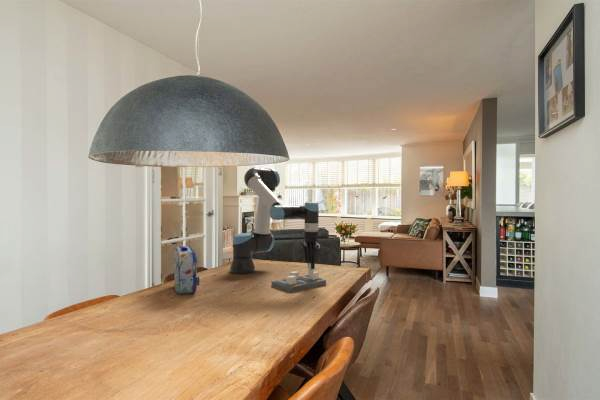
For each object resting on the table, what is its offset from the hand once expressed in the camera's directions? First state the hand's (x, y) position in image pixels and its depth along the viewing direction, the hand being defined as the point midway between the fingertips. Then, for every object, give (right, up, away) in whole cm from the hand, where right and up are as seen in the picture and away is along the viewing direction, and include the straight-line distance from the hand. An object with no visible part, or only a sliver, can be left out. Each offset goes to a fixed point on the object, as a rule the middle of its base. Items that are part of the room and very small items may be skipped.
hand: (311, 274), depth 187 cm
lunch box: (-62, -4, -15) cm, 64 cm away
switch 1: (-10, -2, -12) cm, 16 cm away
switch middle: (-9, -2, -2) cm, 9 cm away
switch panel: (-6, -5, -5) cm, 9 cm away
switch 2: (+1, -2, -2) cm, 3 cm away
